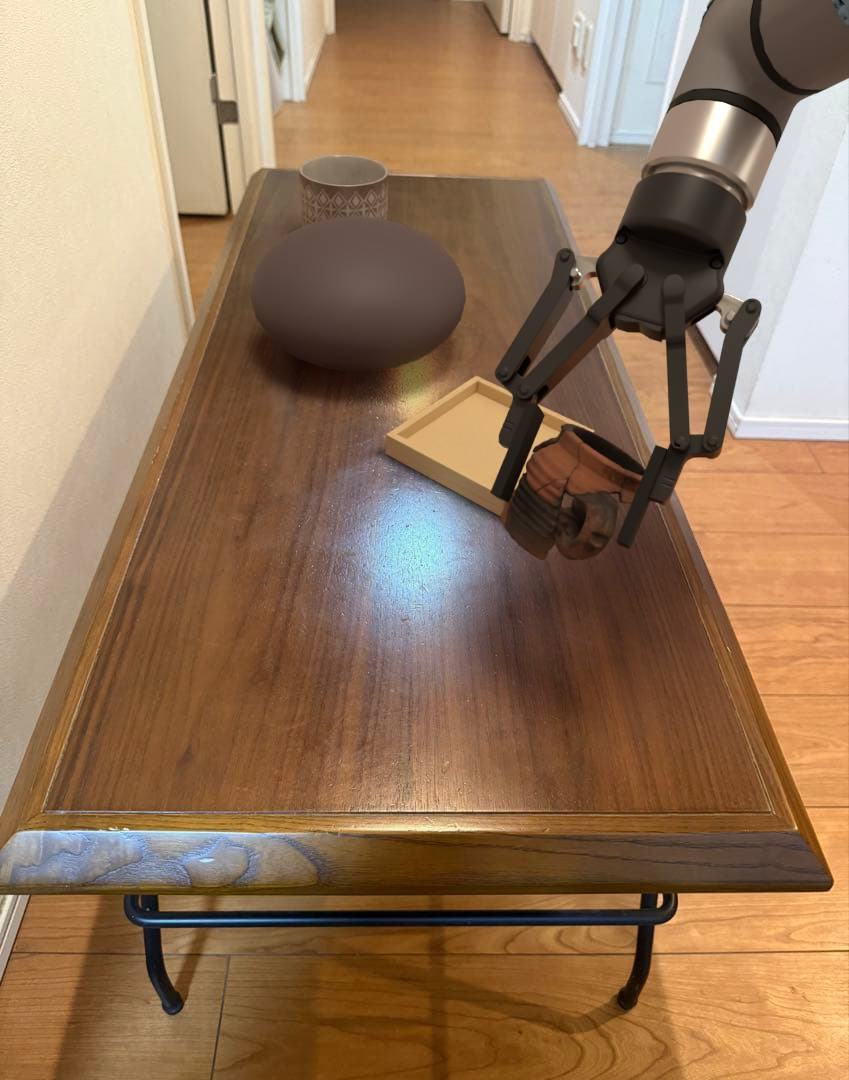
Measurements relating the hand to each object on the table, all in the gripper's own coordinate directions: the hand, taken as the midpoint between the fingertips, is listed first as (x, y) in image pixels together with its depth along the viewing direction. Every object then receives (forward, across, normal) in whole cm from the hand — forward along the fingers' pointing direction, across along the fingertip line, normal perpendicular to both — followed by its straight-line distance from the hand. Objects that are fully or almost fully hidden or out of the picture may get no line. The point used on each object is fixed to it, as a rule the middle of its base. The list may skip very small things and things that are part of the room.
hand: (560, 520), depth 55 cm
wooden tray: (-6, +15, -30) cm, 34 cm away
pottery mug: (0, 0, -5) cm, 5 cm away
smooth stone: (-13, +38, -37) cm, 55 cm away
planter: (-31, +57, -56) cm, 85 cm away
